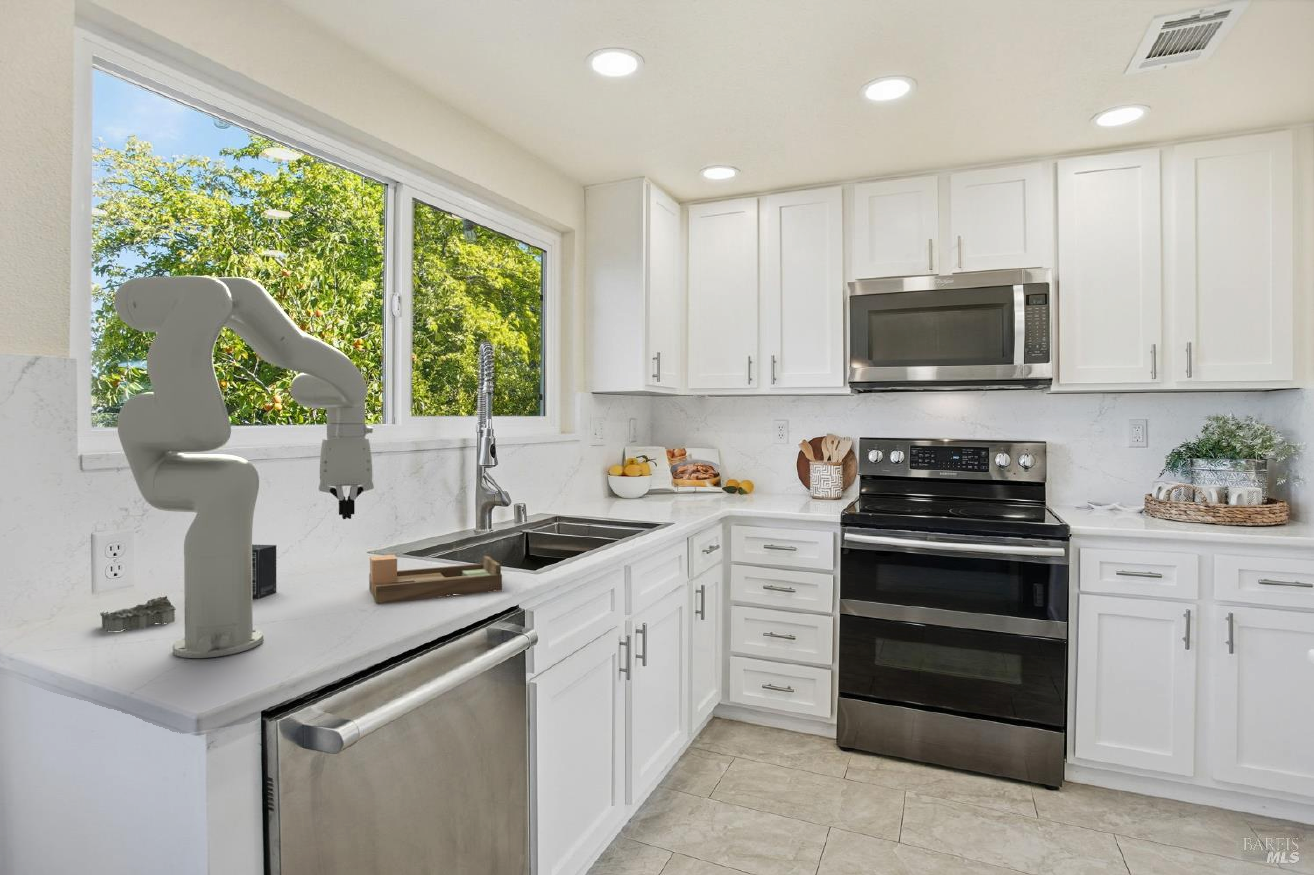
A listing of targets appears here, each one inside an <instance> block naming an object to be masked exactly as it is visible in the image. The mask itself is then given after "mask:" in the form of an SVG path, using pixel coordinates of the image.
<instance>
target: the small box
mask: <svg viewBox="0 0 1314 875" xmlns="http://www.w3.org/2000/svg"><path fill="white" fill-rule="evenodd" d="M274 593H277V544H252V599H260V598H263V597H266V596H269V595H271V594H274Z"/></svg>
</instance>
